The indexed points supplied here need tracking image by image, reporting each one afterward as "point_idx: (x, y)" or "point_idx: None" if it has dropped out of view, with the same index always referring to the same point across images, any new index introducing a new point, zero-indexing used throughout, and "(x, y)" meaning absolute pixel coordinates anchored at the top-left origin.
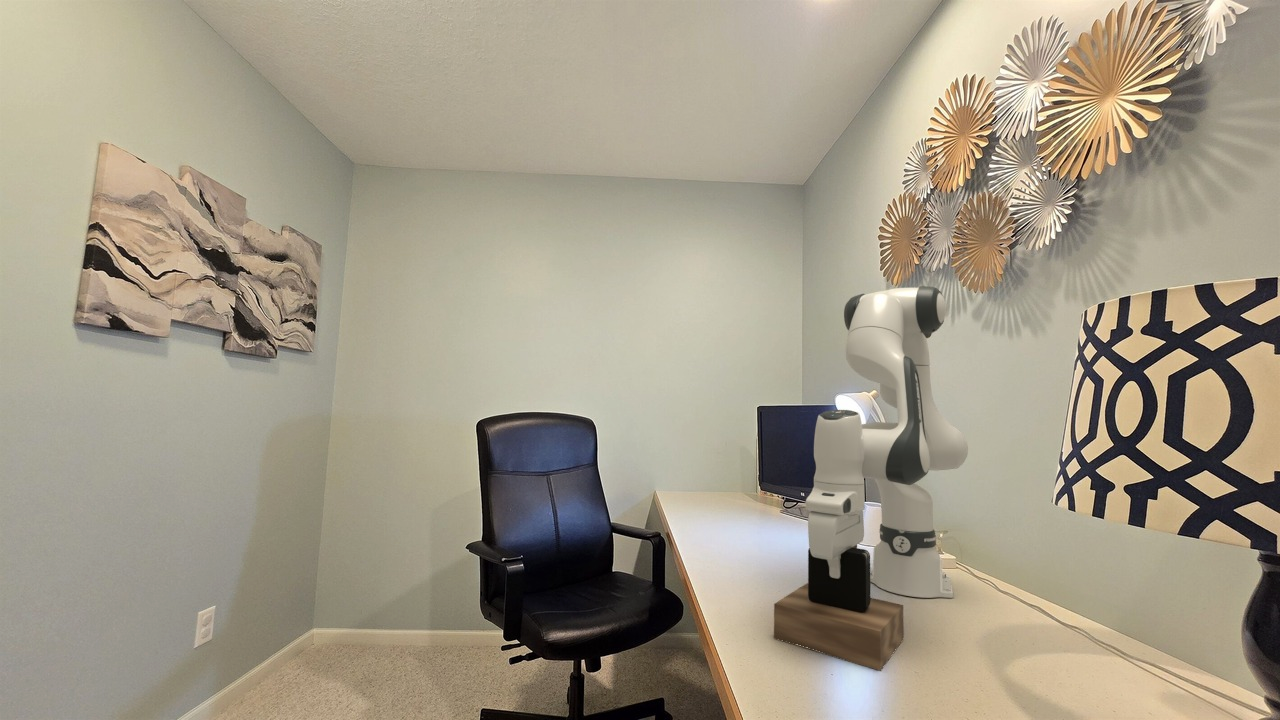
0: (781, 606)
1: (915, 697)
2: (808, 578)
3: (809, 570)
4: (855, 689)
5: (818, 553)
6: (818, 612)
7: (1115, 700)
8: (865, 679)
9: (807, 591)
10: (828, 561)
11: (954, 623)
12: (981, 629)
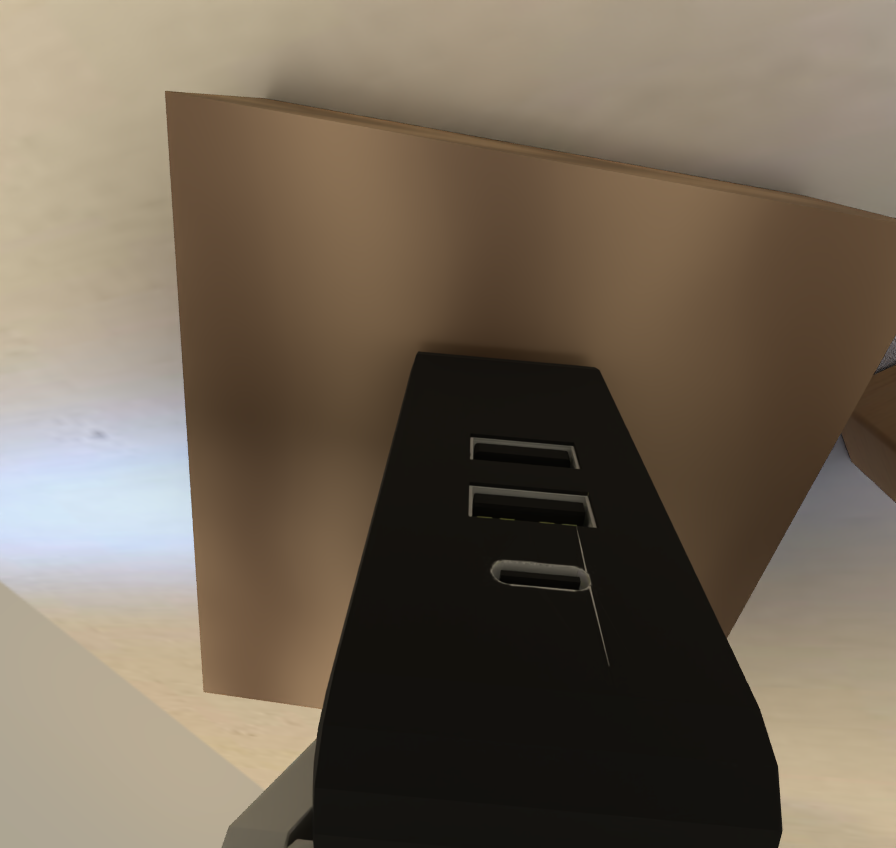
0: (174, 167)
1: (154, 646)
2: (397, 424)
3: (381, 482)
4: (54, 513)
5: None
6: (237, 436)
7: None
8: (155, 533)
9: (678, 287)
10: (272, 790)
11: (890, 753)
12: (850, 804)
